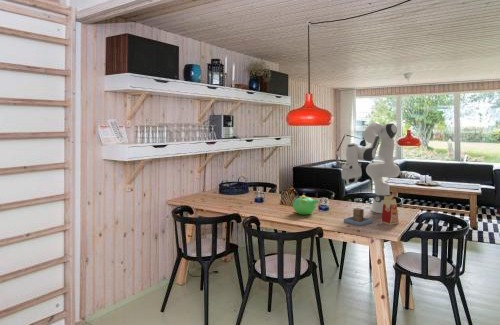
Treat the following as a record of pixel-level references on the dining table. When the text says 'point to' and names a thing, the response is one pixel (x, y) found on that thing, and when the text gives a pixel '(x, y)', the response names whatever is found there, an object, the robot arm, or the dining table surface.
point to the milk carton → (389, 211)
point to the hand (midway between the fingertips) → (351, 183)
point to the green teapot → (304, 205)
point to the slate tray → (350, 220)
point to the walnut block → (358, 214)
